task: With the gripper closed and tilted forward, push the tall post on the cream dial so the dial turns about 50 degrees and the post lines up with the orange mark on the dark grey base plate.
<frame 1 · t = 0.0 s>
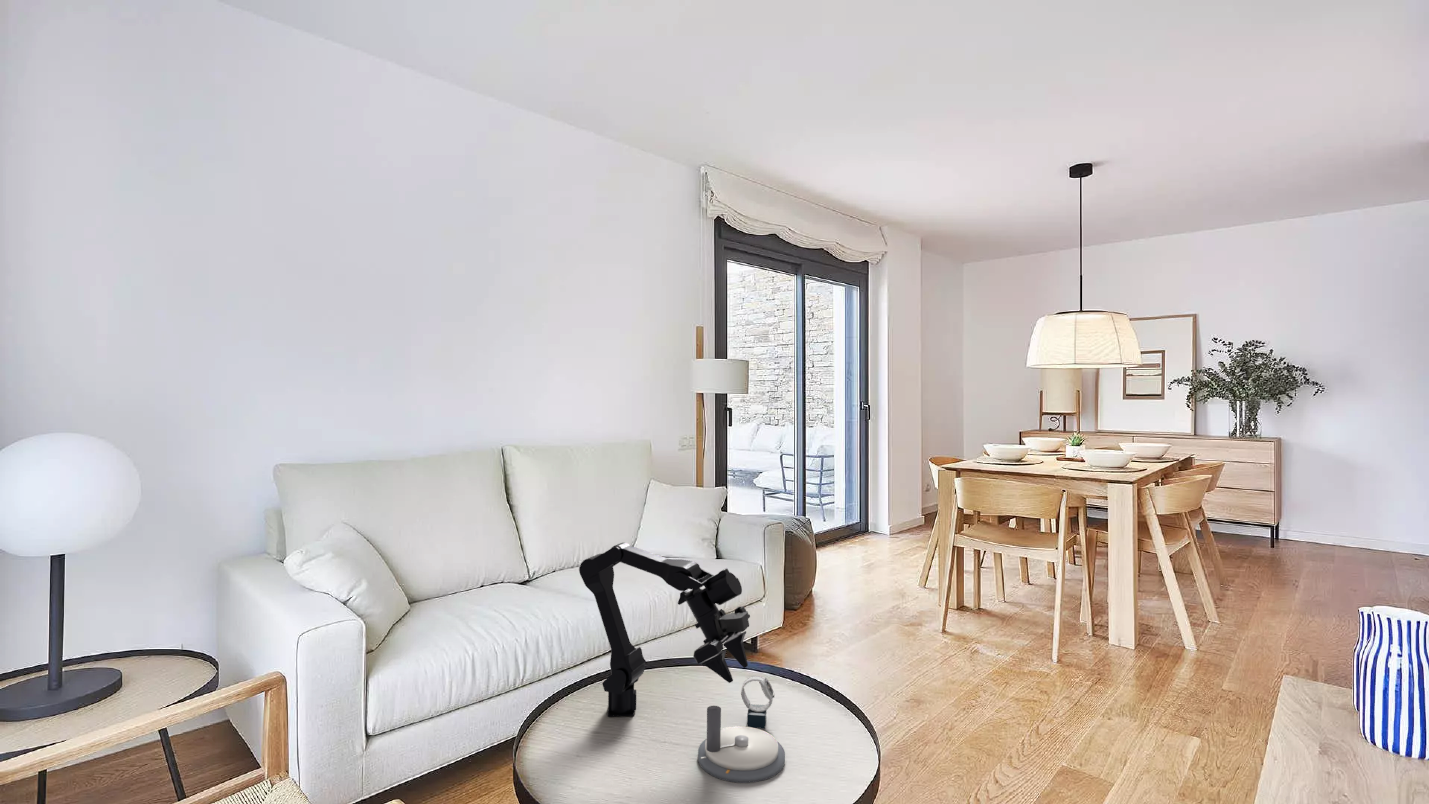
hand: (738, 674, 169), 15 cm above the table, tool tilted 35°, fingers open, 9 cm apart
dial: (741, 727, 160), point 7 cm above the table, hinge at 0.0°
watch: (757, 723, 177), on the table
dial base: (741, 758, 161), on the table
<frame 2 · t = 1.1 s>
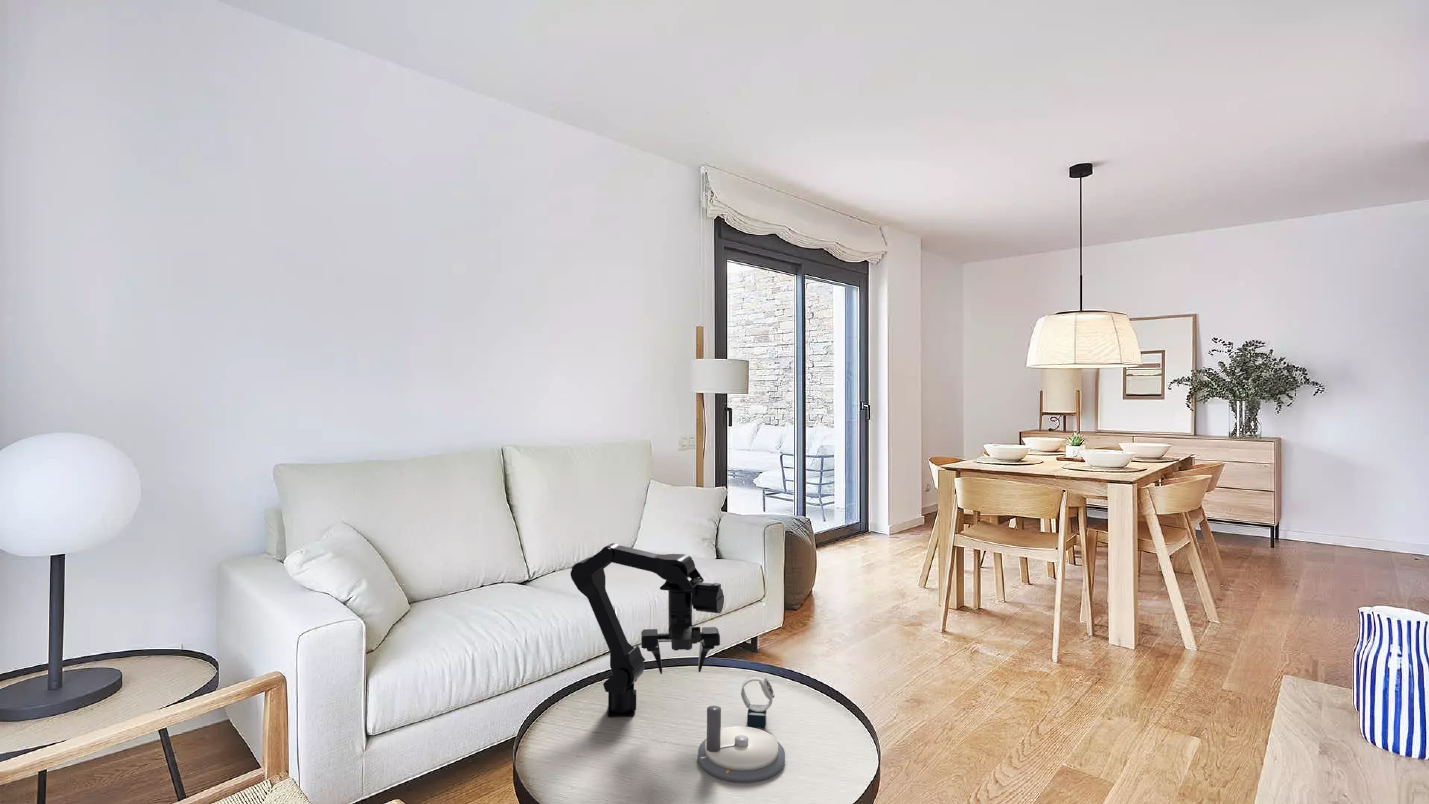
hand: (680, 672, 177), 12 cm above the table, tool pointing down, fingers open, 9 cm apart
nothing on the table moved.
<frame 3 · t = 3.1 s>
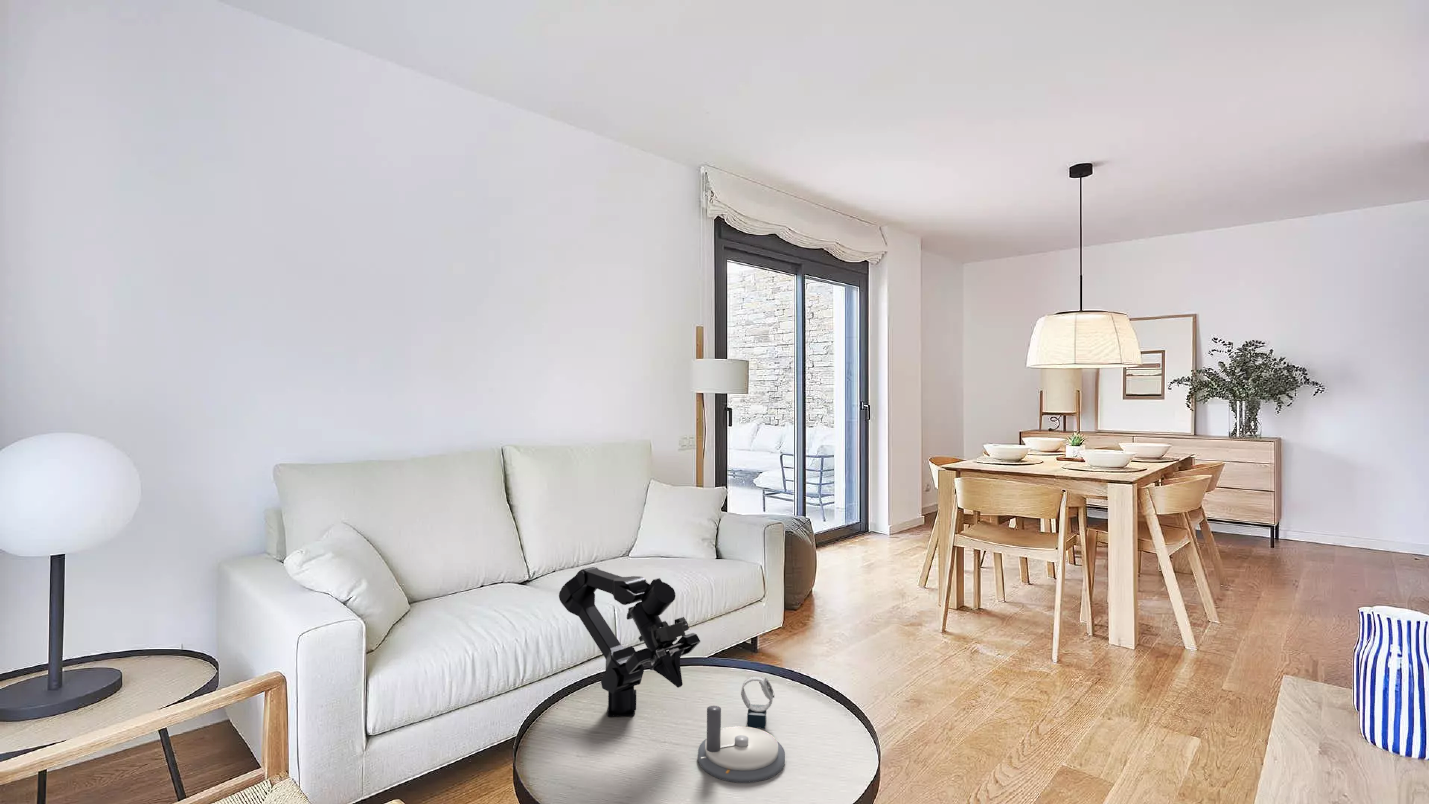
hand: (680, 686, 166), 13 cm above the table, tool tilted 45°, fingers closed
nothing on the table moved.
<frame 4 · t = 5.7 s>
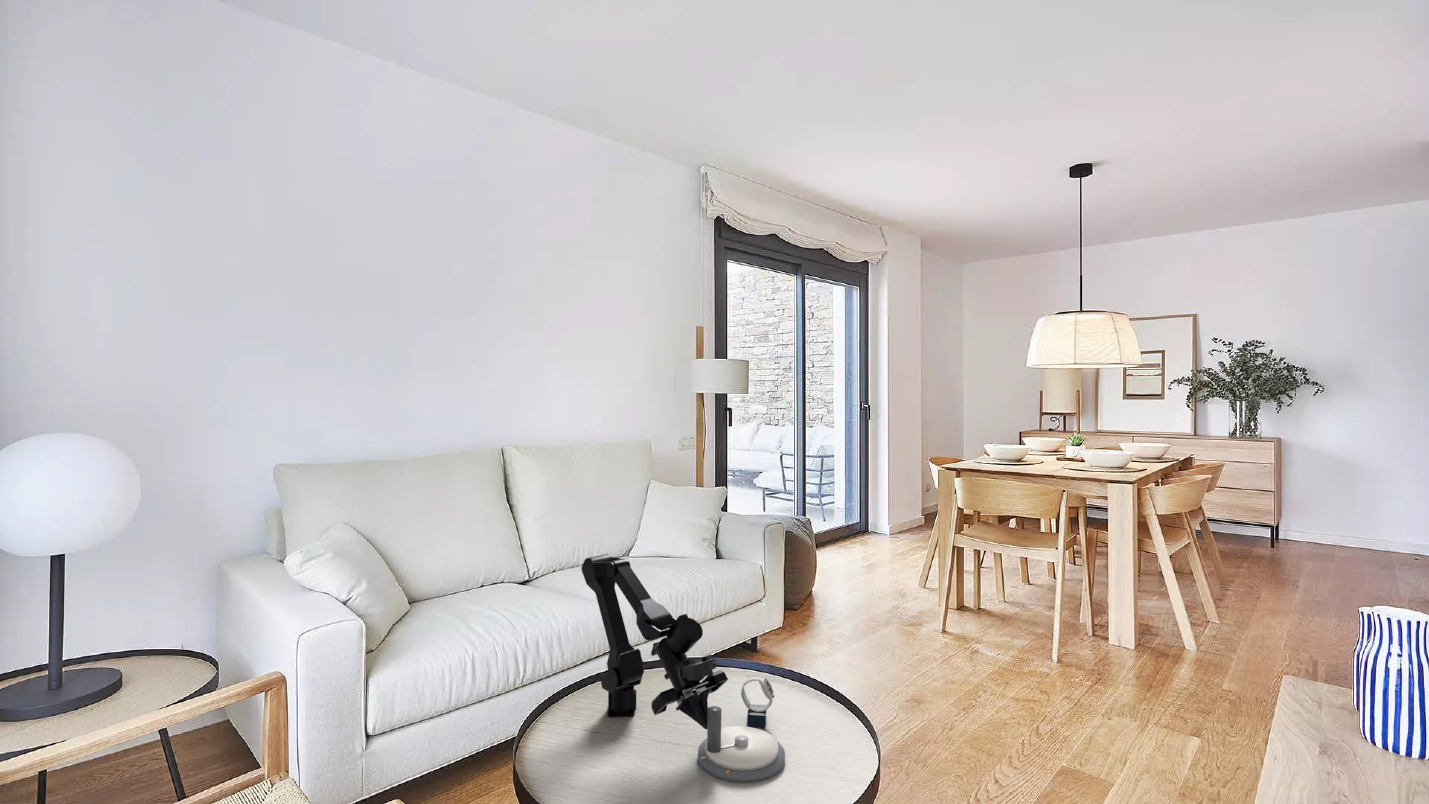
hand: (708, 728, 159), 7 cm above the table, tool tilted 45°, fingers closed, pressing on dial
dial: (741, 727, 160), point 7 cm above the table, hinge at 2.8°, touching gripper
everything else where it was.
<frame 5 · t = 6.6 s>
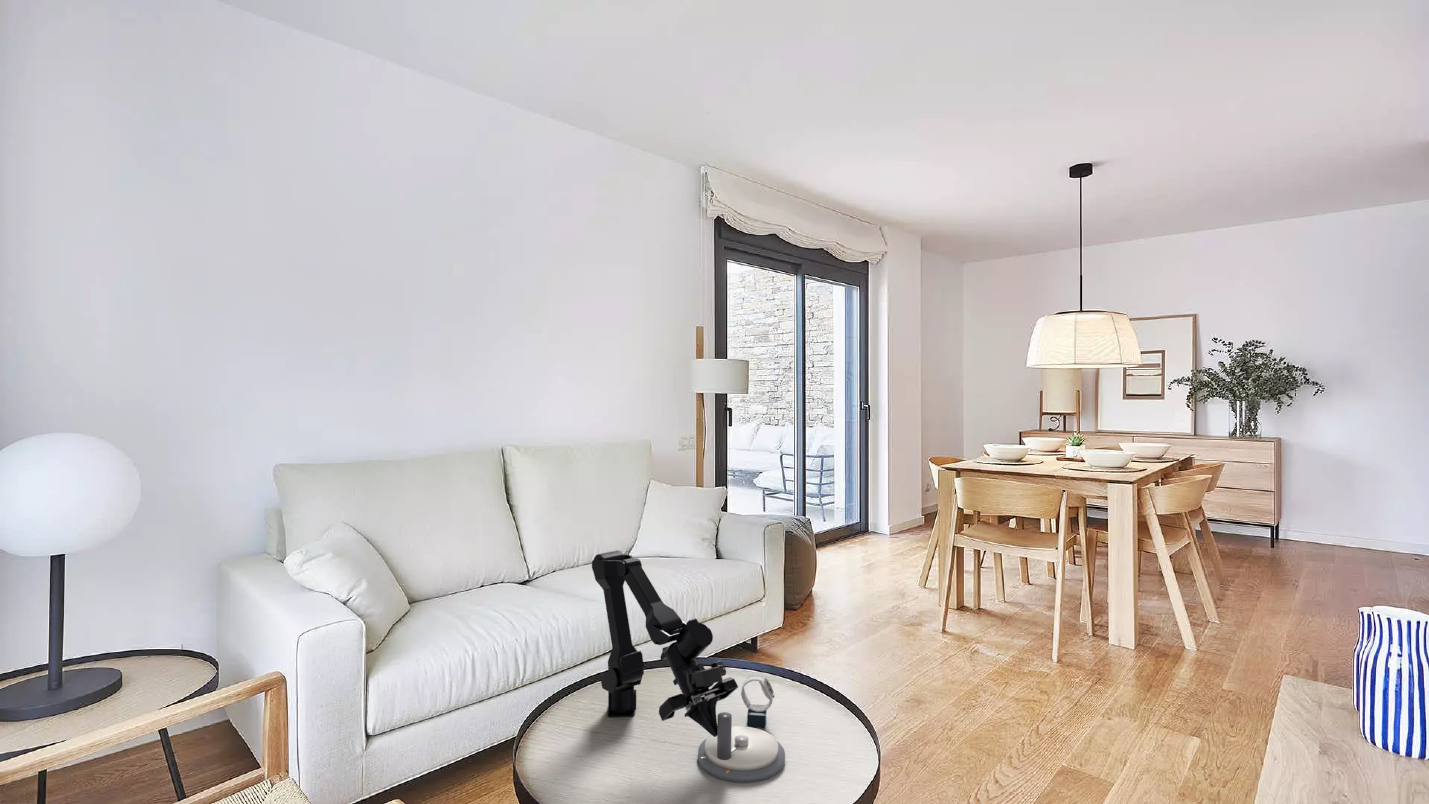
hand: (716, 736, 156), 7 cm above the table, tool tilted 45°, fingers closed, pressing on dial
dial: (741, 727, 160), point 7 cm above the table, hinge at 34.1°, touching gripper
everything else where it was.
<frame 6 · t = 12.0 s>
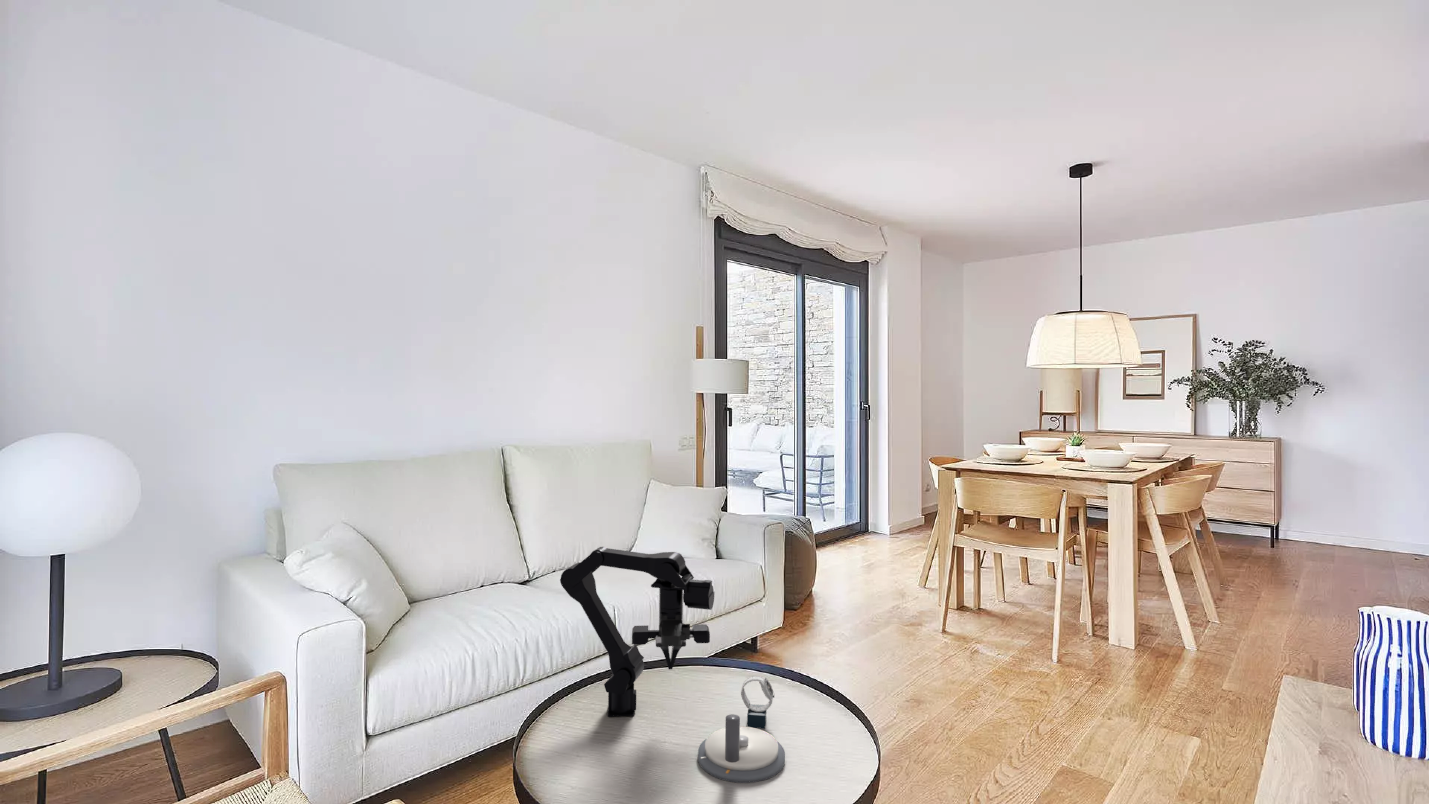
hand: (670, 668, 179), 12 cm above the table, tool pointing down, fingers closed
dial: (741, 727, 160), point 7 cm above the table, hinge at 51.1°
everything else where it was.
at the end: dial at +51° (first picture: +0°); watch moved 0.2 cm from its start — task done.
